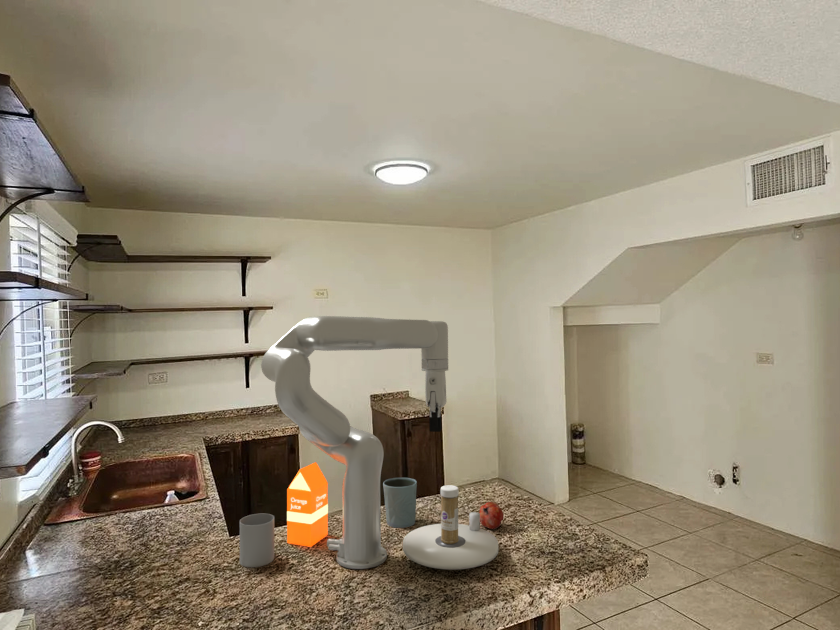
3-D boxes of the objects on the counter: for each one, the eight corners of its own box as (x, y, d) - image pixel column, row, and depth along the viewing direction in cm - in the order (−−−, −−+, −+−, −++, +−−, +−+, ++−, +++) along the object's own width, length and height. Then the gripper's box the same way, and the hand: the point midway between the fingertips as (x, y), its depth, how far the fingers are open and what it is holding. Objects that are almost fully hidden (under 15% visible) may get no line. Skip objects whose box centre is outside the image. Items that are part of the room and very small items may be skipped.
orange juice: (286, 543, 138) (286, 468, 139) (304, 531, 146) (304, 460, 147) (311, 547, 135) (311, 471, 136) (328, 534, 144) (328, 462, 144)
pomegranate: (486, 528, 153) (466, 514, 148) (498, 506, 155) (479, 491, 150) (503, 539, 147) (483, 525, 142) (516, 517, 149) (496, 501, 144)
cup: (280, 559, 128) (280, 519, 129) (250, 570, 122) (250, 528, 123) (263, 549, 134) (263, 511, 135) (233, 560, 128) (233, 519, 129)
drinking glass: (416, 529, 147) (416, 487, 148) (381, 529, 147) (381, 487, 148) (417, 516, 157) (417, 476, 158) (384, 516, 157) (384, 477, 158)
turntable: (459, 589, 112) (459, 554, 112) (383, 557, 128) (383, 527, 128) (516, 553, 130) (516, 523, 130) (443, 529, 146) (443, 502, 146)
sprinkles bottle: (437, 542, 128) (437, 488, 128) (445, 536, 132) (445, 483, 132) (454, 546, 126) (454, 491, 126) (461, 539, 130) (461, 485, 130)
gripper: (445, 367, 135) (446, 437, 135) (450, 363, 150) (451, 426, 149) (417, 367, 136) (418, 436, 136) (425, 363, 151) (425, 425, 150)
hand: (435, 430), depth 143 cm, fingers closed
